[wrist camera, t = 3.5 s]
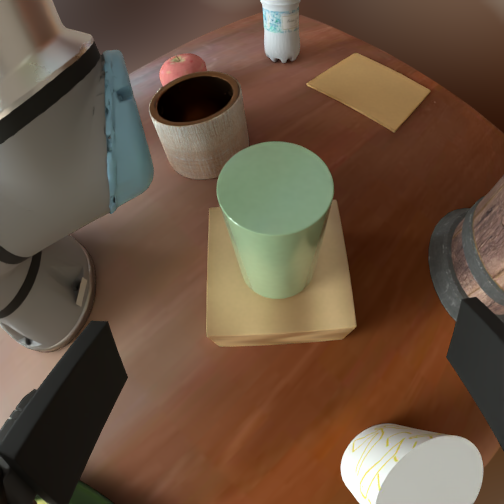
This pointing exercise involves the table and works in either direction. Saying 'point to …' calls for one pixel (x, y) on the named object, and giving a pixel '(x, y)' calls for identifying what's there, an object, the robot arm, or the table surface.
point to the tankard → (471, 254)
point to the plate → (83, 496)
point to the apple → (180, 67)
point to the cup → (411, 467)
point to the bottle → (281, 29)
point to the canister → (276, 214)
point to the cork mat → (371, 90)
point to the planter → (200, 122)
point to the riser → (278, 310)
